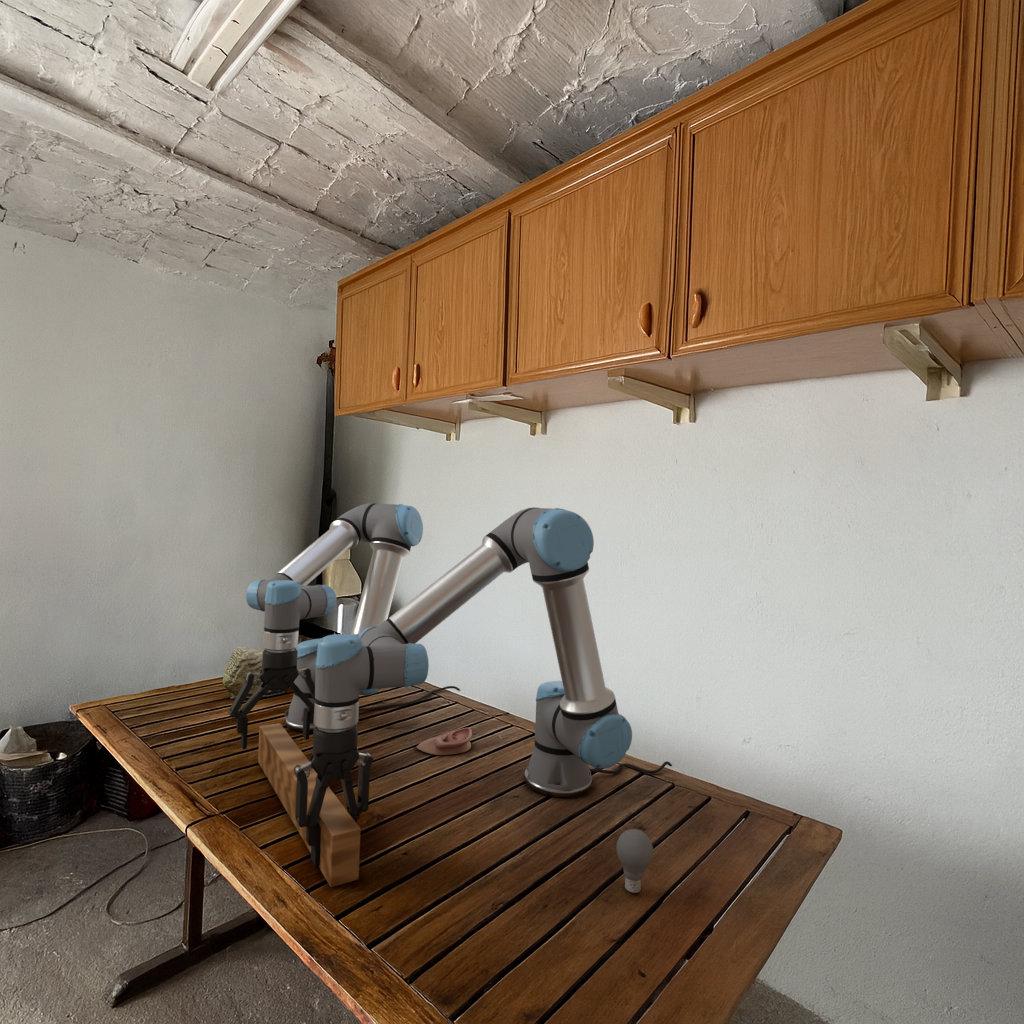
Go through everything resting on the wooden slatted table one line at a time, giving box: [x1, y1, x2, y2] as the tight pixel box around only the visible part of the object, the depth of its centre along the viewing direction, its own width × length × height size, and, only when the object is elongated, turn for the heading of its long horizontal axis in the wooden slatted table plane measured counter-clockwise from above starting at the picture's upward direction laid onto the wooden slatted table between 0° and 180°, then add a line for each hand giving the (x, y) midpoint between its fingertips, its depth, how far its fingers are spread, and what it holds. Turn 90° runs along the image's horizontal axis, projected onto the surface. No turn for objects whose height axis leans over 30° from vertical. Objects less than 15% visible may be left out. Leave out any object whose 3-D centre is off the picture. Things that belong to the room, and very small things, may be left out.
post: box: [257, 722, 361, 888], centre depth 128 cm, size 56×5×9 cm, turn 33°
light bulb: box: [615, 828, 654, 894], centre depth 106 cm, size 6×6×10 cm
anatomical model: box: [416, 727, 473, 756], centre depth 163 cm, size 13×4×12 cm
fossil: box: [222, 646, 286, 699], centre depth 198 cm, size 9×18×15 cm, turn 132°
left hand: (275, 742), depth 144 cm, fingers open, 13 cm apart
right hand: (330, 857), depth 111 cm, fingers closed on post, 5 cm apart
